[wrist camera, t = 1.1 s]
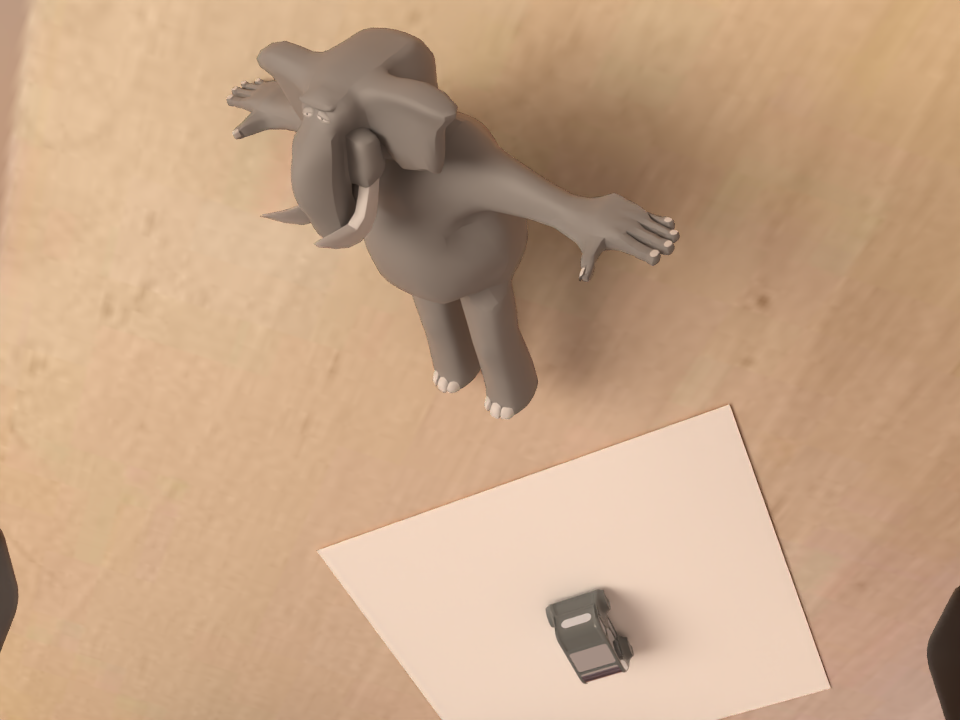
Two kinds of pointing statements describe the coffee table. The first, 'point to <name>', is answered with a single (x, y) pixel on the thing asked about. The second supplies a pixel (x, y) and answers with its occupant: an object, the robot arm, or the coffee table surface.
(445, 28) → the coffee table surface
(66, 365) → the coffee table surface
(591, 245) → the elephant figurine
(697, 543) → the cream square coaster
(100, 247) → the coffee table surface
